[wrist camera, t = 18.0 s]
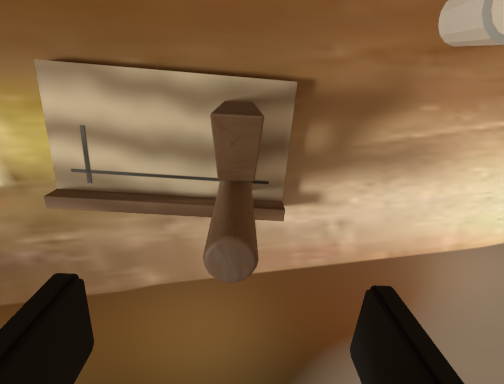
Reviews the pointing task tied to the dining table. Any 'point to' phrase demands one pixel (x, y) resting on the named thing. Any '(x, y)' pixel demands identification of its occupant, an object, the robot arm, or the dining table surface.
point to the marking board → (154, 138)
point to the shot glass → (472, 22)
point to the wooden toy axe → (234, 191)
